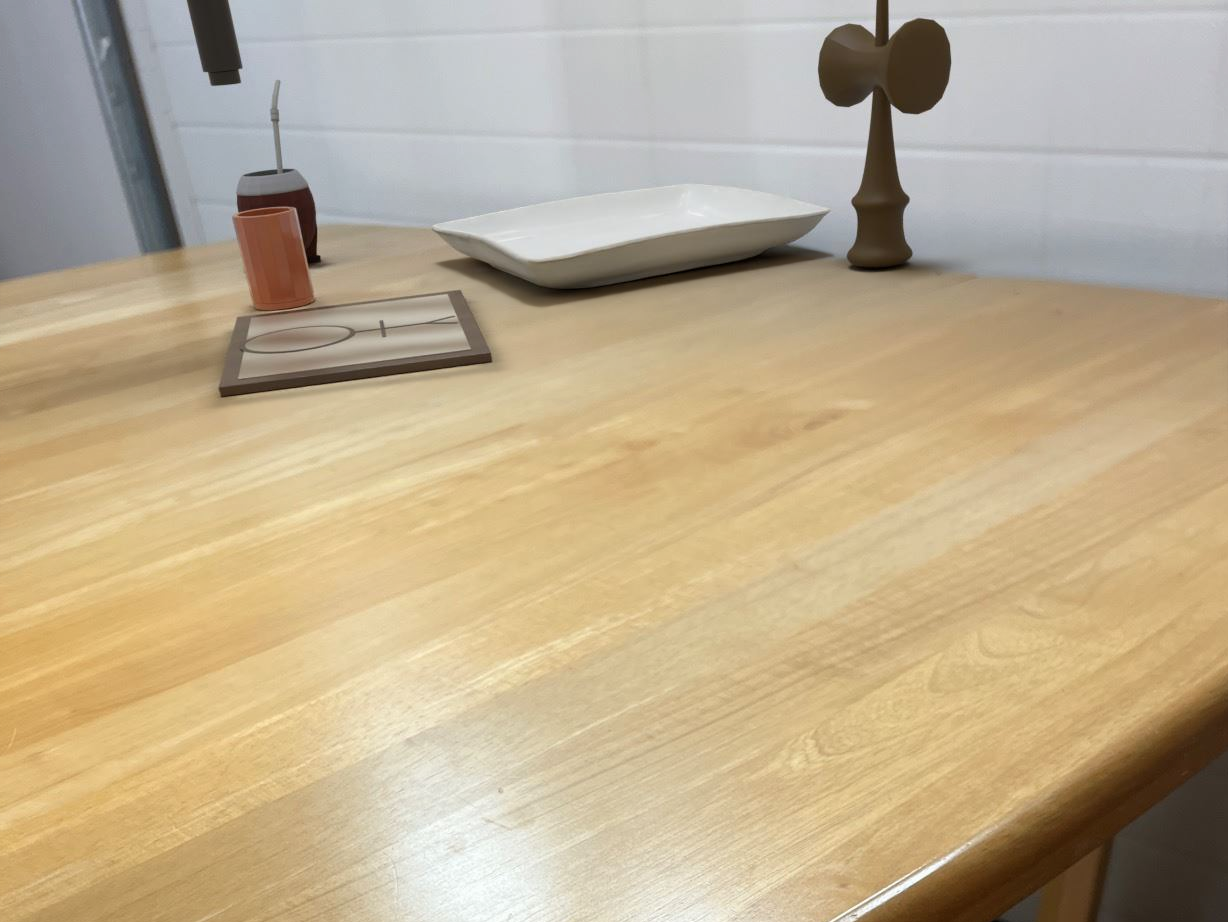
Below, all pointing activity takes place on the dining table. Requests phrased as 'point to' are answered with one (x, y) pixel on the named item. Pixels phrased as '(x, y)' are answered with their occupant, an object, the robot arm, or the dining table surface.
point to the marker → (216, 40)
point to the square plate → (631, 233)
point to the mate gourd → (281, 190)
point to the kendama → (884, 115)
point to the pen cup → (274, 258)
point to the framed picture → (351, 342)
